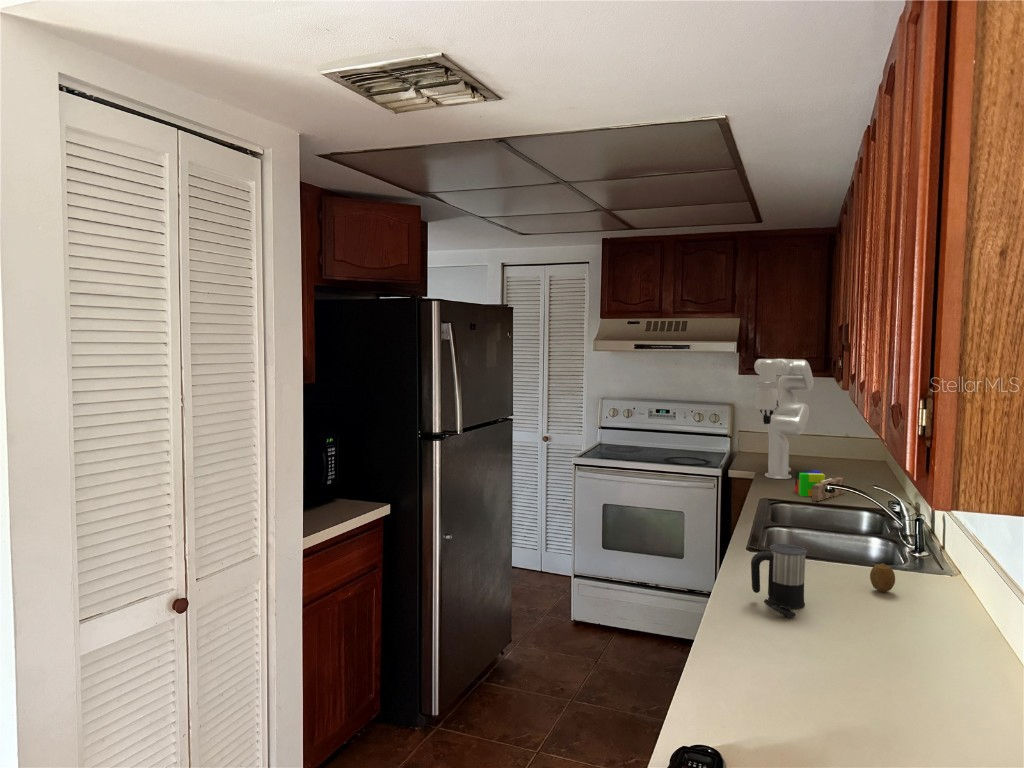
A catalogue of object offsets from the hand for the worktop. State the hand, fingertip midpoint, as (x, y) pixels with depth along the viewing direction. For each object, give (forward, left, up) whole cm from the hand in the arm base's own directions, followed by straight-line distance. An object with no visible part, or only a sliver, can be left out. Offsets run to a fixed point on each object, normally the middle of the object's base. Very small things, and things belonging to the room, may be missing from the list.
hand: (766, 423), depth 341 cm
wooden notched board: (+7, +33, -29) cm, 45 cm away
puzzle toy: (+7, +25, -29) cm, 39 cm away
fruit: (+113, +95, -29) cm, 151 cm away
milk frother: (+145, +83, -29) cm, 169 cm away
